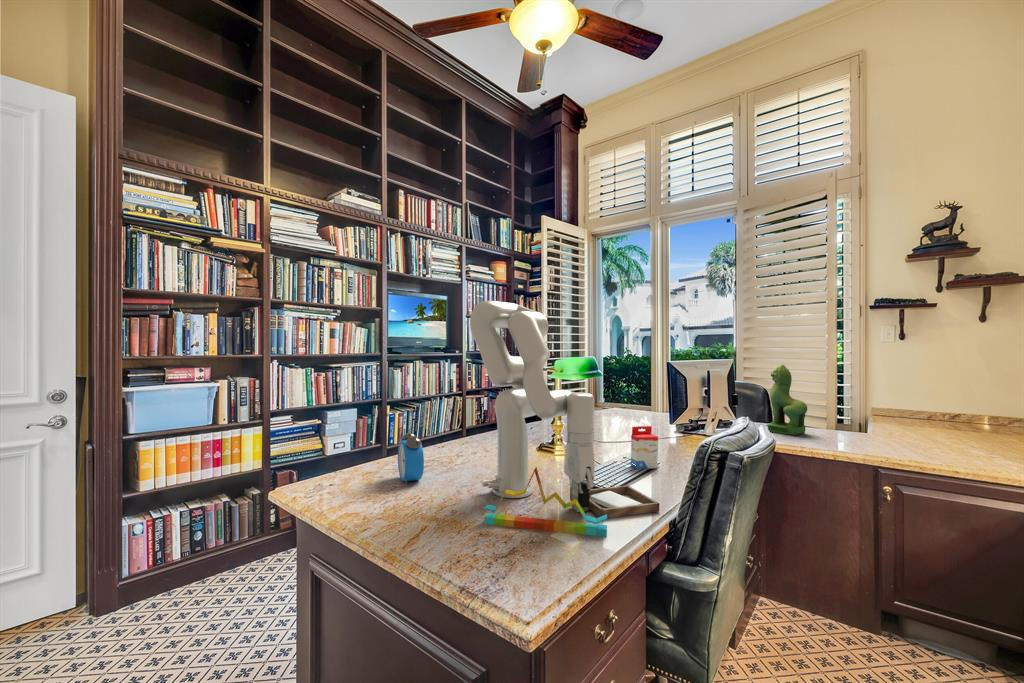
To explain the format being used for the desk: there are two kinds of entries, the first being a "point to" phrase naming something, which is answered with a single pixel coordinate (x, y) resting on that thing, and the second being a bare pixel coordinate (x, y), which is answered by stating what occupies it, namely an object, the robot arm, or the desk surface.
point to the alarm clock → (410, 458)
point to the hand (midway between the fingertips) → (579, 503)
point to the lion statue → (785, 405)
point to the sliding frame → (646, 507)
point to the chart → (547, 523)
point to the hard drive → (612, 500)
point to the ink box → (644, 448)
